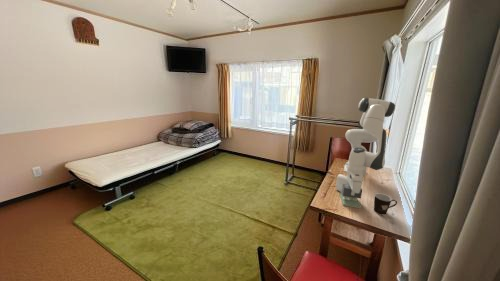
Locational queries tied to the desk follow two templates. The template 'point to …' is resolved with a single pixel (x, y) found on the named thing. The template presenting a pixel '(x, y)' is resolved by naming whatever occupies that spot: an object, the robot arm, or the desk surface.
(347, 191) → the block
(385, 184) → the desk surface
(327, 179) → the desk surface
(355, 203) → the board
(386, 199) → the coffee mug
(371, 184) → the desk surface
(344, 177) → the photo printer
